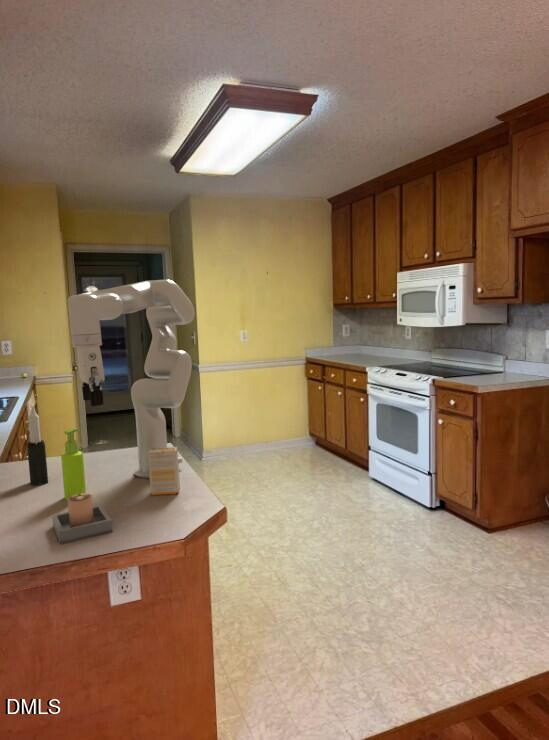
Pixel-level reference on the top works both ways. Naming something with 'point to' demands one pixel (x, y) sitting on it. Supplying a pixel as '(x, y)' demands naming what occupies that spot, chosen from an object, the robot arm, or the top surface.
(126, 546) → the top surface
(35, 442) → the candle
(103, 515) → the tray
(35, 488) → the top surface
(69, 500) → the cup
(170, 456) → the supplement box
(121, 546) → the top surface
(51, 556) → the top surface
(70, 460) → the soap dispenser
